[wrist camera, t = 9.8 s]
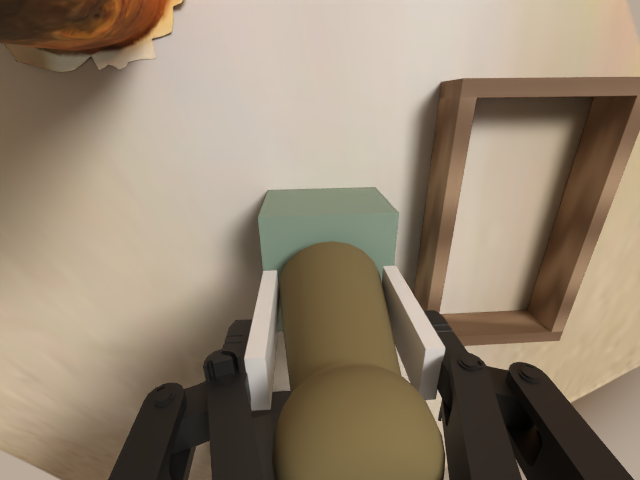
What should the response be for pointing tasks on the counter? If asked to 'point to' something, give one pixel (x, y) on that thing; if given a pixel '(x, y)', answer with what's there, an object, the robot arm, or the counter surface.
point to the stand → (326, 224)
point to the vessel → (83, 31)
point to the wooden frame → (573, 216)
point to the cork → (347, 378)
